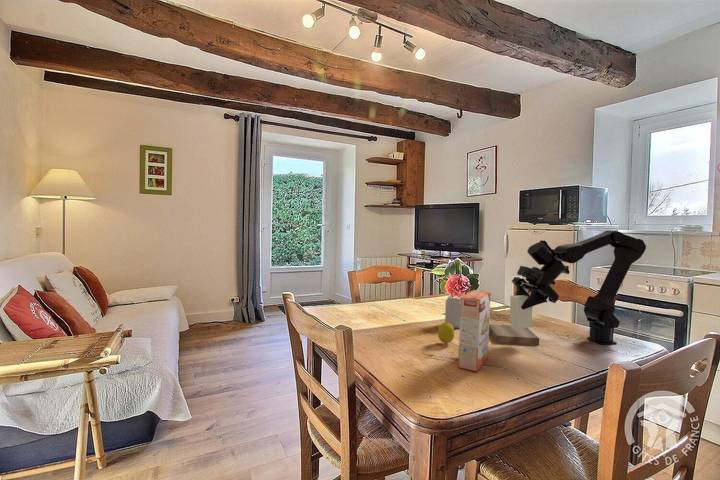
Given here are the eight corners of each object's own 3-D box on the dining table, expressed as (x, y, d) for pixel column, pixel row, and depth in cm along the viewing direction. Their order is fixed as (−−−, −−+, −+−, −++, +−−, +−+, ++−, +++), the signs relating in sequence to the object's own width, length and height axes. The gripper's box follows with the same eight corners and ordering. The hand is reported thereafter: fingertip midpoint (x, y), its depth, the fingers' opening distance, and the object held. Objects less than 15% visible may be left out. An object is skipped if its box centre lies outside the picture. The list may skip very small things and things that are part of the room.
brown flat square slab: (525, 333, 135) (525, 326, 135) (538, 346, 122) (539, 338, 121) (487, 331, 137) (487, 324, 137) (496, 344, 123) (497, 335, 123)
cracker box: (478, 373, 98) (480, 299, 97) (457, 368, 101) (459, 296, 100) (489, 357, 110) (491, 291, 109) (470, 353, 113) (471, 289, 112)
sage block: (522, 323, 124) (523, 295, 123) (531, 327, 119) (532, 298, 118) (509, 323, 123) (510, 295, 122) (518, 328, 118) (518, 298, 117)
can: (465, 329, 138) (465, 299, 137) (445, 328, 139) (446, 298, 139) (463, 324, 145) (464, 295, 145) (444, 323, 147) (445, 294, 146)
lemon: (457, 344, 121) (457, 321, 121) (449, 348, 117) (449, 324, 117) (442, 340, 125) (443, 318, 125) (434, 344, 121) (435, 321, 121)
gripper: (517, 255, 129) (488, 285, 128) (551, 261, 111) (518, 296, 110) (536, 276, 131) (507, 306, 130) (573, 285, 113) (540, 320, 112)
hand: (517, 306), depth 120 cm, fingers closed on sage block, 5 cm apart
